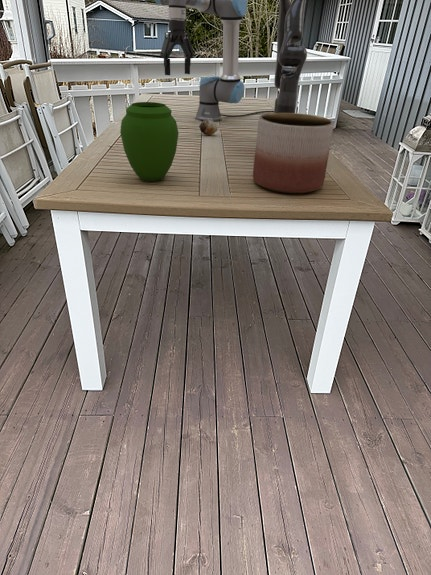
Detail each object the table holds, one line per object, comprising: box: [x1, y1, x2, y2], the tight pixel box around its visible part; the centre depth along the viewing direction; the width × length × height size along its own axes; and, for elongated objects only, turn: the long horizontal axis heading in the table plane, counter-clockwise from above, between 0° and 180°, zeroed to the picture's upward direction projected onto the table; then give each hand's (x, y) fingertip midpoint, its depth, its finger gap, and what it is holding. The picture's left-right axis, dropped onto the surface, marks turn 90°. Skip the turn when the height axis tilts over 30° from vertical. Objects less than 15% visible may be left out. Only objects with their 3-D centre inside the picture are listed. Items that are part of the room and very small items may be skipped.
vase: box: [119, 101, 179, 182], centre depth 140 cm, size 20×20×24 cm
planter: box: [252, 112, 335, 194], centre depth 142 cm, size 25×25×22 cm
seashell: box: [198, 119, 219, 136], centre depth 209 cm, size 10×6×8 cm, turn 97°
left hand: (177, 74), depth 190 cm, fingers open, 13 cm apart
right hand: (281, 146), depth 173 cm, fingers closed on bar, 4 cm apart
